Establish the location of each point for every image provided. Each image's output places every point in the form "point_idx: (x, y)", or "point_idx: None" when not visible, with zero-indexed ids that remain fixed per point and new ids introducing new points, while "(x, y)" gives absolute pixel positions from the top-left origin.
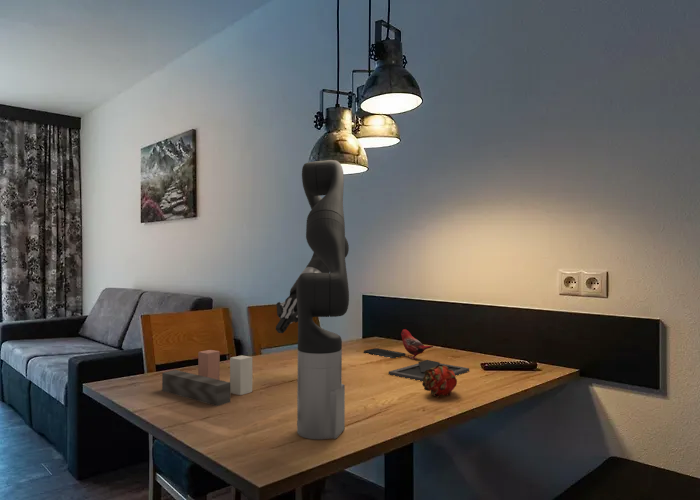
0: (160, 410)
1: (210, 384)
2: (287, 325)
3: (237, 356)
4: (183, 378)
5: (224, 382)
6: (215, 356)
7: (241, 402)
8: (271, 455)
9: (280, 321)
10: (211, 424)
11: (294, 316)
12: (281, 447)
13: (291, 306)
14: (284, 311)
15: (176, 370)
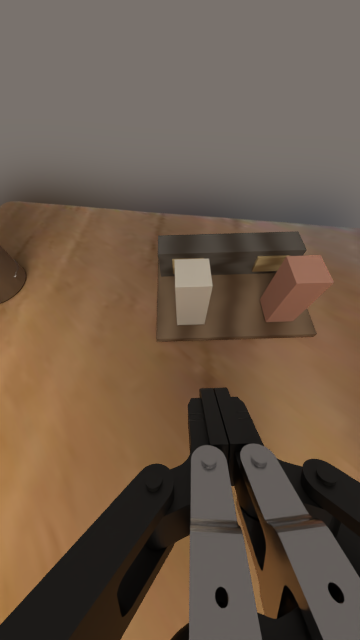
0: (219, 233)
1: (173, 235)
2: (190, 445)
3: (208, 273)
4: (241, 234)
5: (165, 249)
6: (287, 280)
7: None
8: (23, 228)
9: (234, 421)
10: (130, 239)
11: (132, 484)
12: (23, 241)
13: (247, 634)
14: (298, 520)
15: (301, 249)
